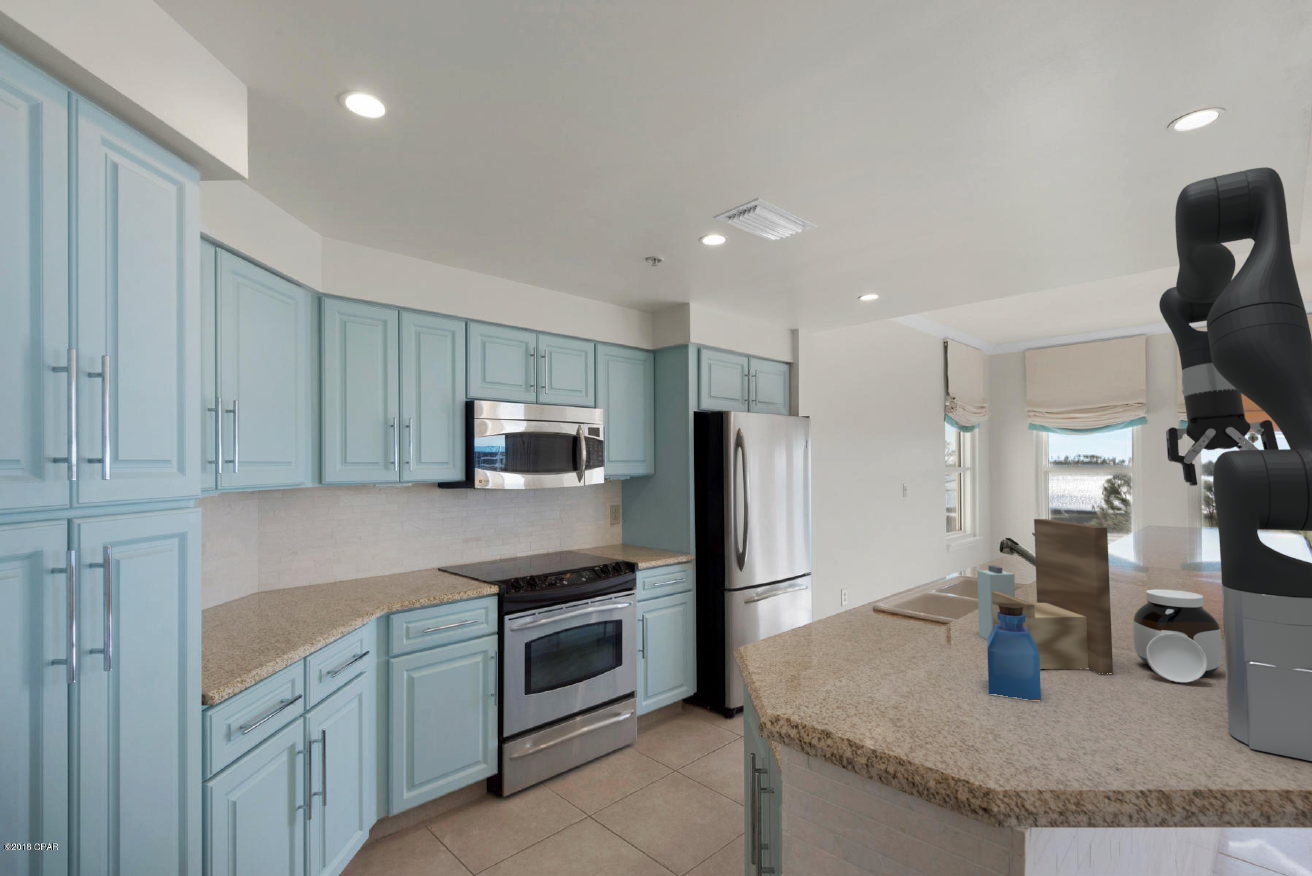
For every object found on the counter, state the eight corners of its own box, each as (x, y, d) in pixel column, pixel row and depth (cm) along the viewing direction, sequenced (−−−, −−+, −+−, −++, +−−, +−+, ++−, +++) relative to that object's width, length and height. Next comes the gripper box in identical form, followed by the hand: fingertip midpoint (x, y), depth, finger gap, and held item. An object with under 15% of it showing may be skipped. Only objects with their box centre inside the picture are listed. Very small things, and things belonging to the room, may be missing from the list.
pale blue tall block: (992, 642, 112) (989, 568, 113) (979, 635, 116) (977, 564, 117) (1016, 642, 112) (1014, 568, 113) (1002, 635, 116) (1000, 564, 117)
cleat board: (1039, 675, 95) (1033, 528, 95) (985, 646, 110) (981, 519, 110) (1113, 674, 95) (1107, 527, 96) (1049, 645, 110) (1045, 518, 111)
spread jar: (1194, 663, 100) (1190, 589, 100) (1254, 688, 88) (1250, 604, 89) (1113, 661, 101) (1110, 588, 101) (1163, 686, 90) (1159, 603, 90)
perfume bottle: (988, 694, 87) (986, 607, 88) (988, 681, 93) (986, 598, 93) (1041, 702, 84) (1037, 611, 85) (1037, 687, 90) (1034, 602, 90)
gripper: (1164, 393, 111) (1177, 485, 109) (1273, 382, 104) (1289, 480, 102) (1156, 400, 117) (1168, 487, 115) (1258, 390, 110) (1274, 483, 108)
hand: (1225, 484), depth 108 cm, fingers open, 8 cm apart
